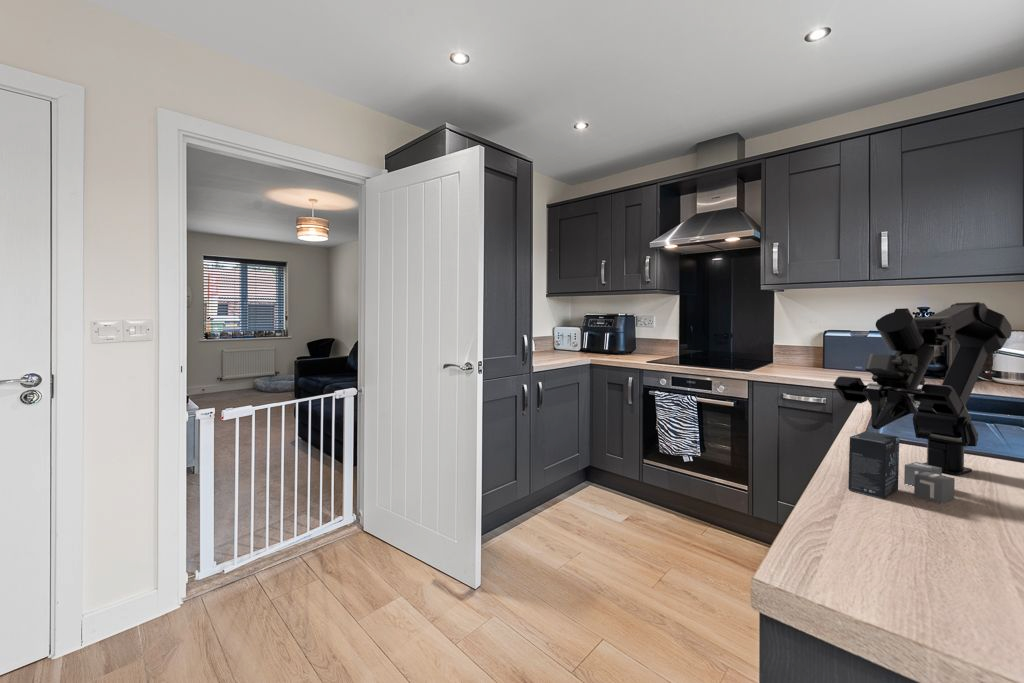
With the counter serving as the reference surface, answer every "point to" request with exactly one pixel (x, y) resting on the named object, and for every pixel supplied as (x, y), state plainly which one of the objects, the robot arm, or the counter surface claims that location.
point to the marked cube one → (918, 471)
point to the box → (873, 464)
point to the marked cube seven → (934, 487)
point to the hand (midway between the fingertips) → (874, 427)
